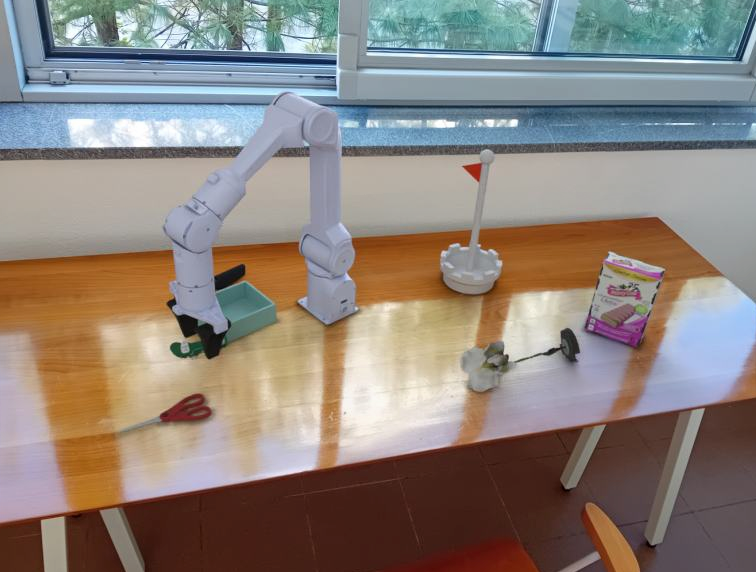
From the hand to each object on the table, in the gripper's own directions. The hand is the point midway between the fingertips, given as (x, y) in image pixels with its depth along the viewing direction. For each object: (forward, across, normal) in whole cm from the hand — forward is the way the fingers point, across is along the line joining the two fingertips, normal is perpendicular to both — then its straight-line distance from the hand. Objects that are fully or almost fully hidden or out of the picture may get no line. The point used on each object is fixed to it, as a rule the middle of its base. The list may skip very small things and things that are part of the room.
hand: (201, 345), depth 122 cm
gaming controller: (+2, 0, 0) cm, 2 cm away
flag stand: (+6, +9, +58) cm, 59 cm away
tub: (+5, -8, +11) cm, 15 cm away
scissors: (+5, +7, -11) cm, 14 cm away
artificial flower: (+5, +35, +43) cm, 56 cm away
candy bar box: (+6, +40, +67) cm, 78 cm away
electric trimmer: (+5, -19, +13) cm, 24 cm away
